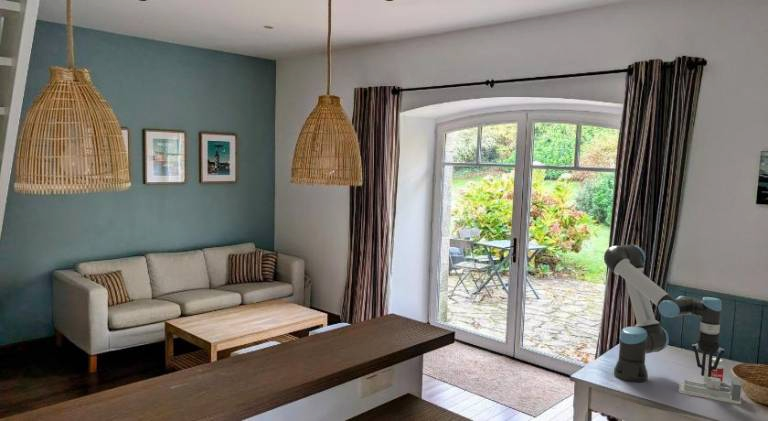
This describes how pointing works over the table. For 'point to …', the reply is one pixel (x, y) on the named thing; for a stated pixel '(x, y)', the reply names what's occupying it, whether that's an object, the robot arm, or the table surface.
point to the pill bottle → (717, 370)
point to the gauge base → (713, 391)
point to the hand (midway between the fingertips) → (705, 383)
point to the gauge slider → (714, 384)
